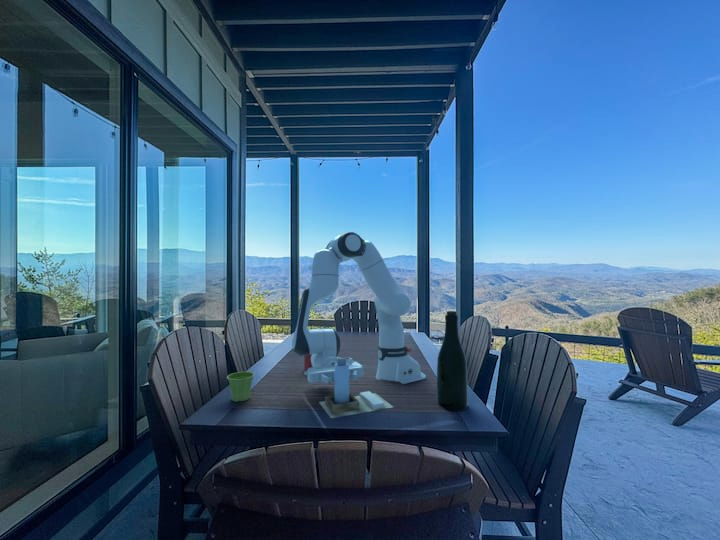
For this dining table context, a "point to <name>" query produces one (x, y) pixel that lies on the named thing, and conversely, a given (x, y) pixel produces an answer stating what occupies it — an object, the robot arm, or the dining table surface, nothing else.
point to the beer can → (307, 362)
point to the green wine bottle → (452, 368)
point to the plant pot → (240, 385)
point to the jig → (349, 406)
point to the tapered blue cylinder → (341, 381)
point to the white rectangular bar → (372, 400)
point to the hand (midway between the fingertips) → (342, 379)
